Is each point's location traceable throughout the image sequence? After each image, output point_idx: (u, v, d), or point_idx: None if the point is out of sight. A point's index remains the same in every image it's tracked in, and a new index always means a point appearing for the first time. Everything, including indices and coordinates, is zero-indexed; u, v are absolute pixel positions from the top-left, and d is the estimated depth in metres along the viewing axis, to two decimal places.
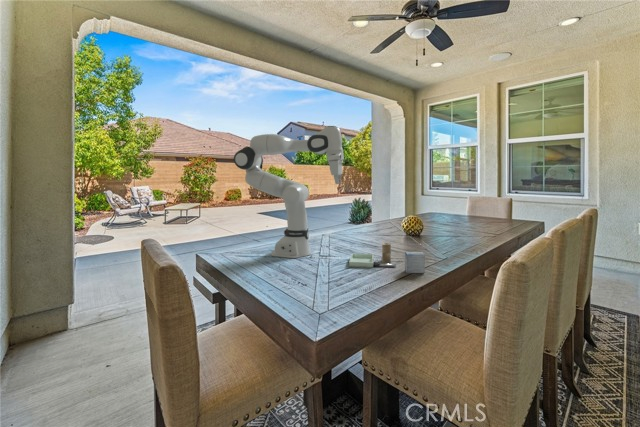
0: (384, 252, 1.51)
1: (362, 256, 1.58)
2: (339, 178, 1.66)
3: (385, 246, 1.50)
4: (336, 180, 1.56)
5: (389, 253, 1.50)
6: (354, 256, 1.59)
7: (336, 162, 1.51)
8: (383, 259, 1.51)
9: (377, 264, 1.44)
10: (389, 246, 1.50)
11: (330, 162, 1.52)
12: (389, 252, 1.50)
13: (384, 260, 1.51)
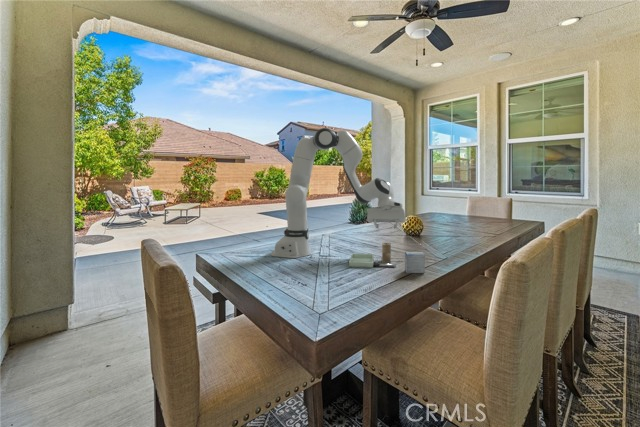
0: (384, 252, 1.51)
1: (362, 256, 1.58)
2: None
3: (385, 246, 1.50)
4: (397, 224, 1.61)
5: (389, 253, 1.50)
6: (354, 256, 1.59)
7: None
8: (383, 259, 1.51)
9: (377, 264, 1.44)
10: (389, 246, 1.50)
11: None
12: (389, 252, 1.50)
13: (384, 260, 1.51)
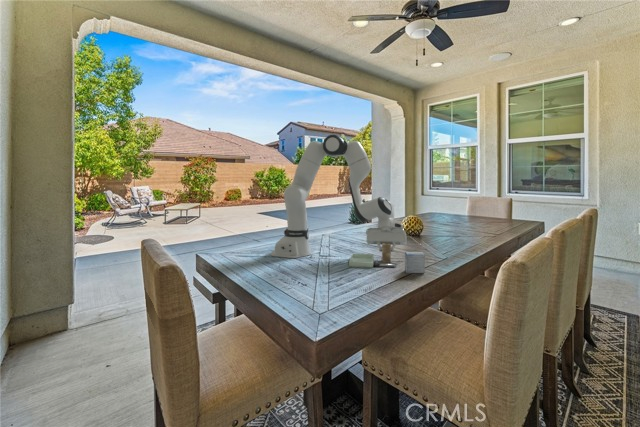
0: (384, 252, 1.51)
1: (362, 256, 1.58)
2: None
3: (385, 246, 1.50)
4: (393, 247, 1.53)
5: (389, 253, 1.50)
6: (354, 256, 1.59)
7: None
8: (383, 259, 1.51)
9: (377, 264, 1.44)
10: (389, 246, 1.50)
11: None
12: (389, 252, 1.50)
13: (384, 260, 1.51)
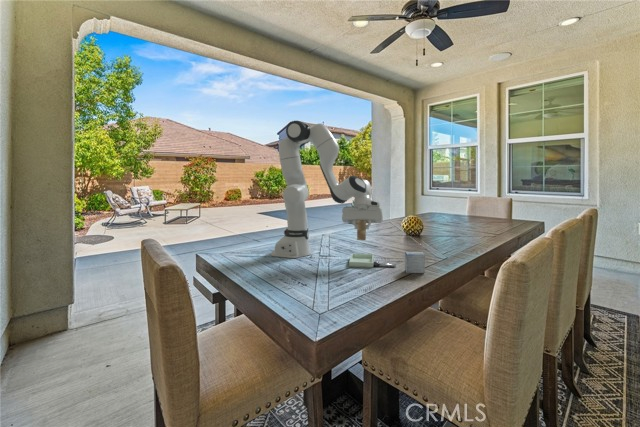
0: (359, 230, 1.48)
1: (362, 256, 1.58)
2: None
3: (360, 223, 1.47)
4: (369, 225, 1.50)
5: (364, 230, 1.47)
6: (354, 256, 1.59)
7: None
8: (358, 236, 1.48)
9: (377, 264, 1.44)
10: (364, 223, 1.47)
11: None
12: (364, 229, 1.47)
13: (359, 238, 1.48)
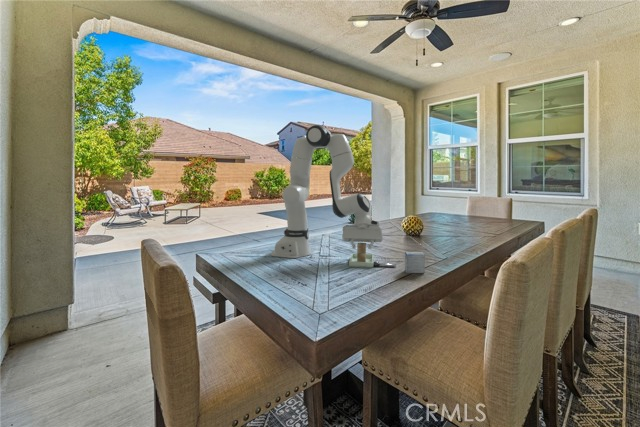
0: (359, 252, 1.49)
1: None
2: None
3: (360, 246, 1.49)
4: (371, 245, 1.51)
5: (364, 253, 1.49)
6: (354, 256, 1.59)
7: None
8: (358, 259, 1.50)
9: (377, 264, 1.44)
10: (364, 246, 1.48)
11: None
12: (364, 252, 1.49)
13: (359, 261, 1.50)
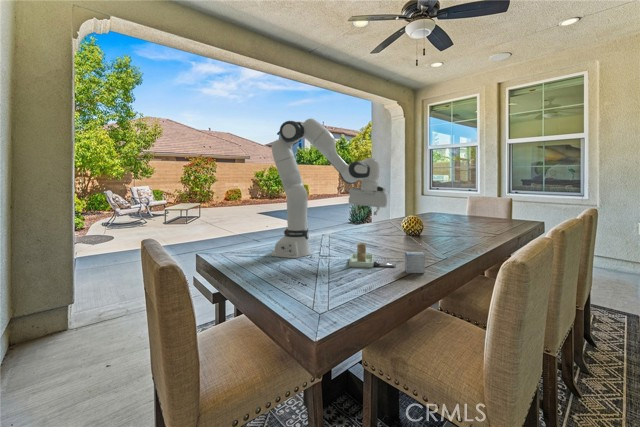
0: (359, 252, 1.49)
1: None
2: (356, 208, 1.63)
3: (360, 246, 1.49)
4: (377, 211, 1.60)
5: (364, 253, 1.49)
6: (354, 256, 1.59)
7: None
8: (358, 259, 1.50)
9: (377, 264, 1.44)
10: (364, 246, 1.48)
11: (385, 194, 1.59)
12: (364, 252, 1.49)
13: (359, 261, 1.50)
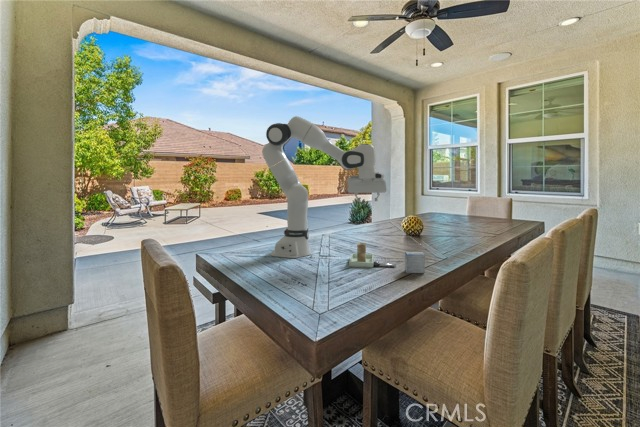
0: (359, 252, 1.49)
1: None
2: None
3: (360, 246, 1.49)
4: (377, 197, 1.61)
5: (364, 253, 1.49)
6: (354, 256, 1.59)
7: None
8: (358, 259, 1.50)
9: (377, 264, 1.44)
10: (364, 246, 1.48)
11: (384, 180, 1.58)
12: (364, 252, 1.49)
13: (359, 261, 1.50)
